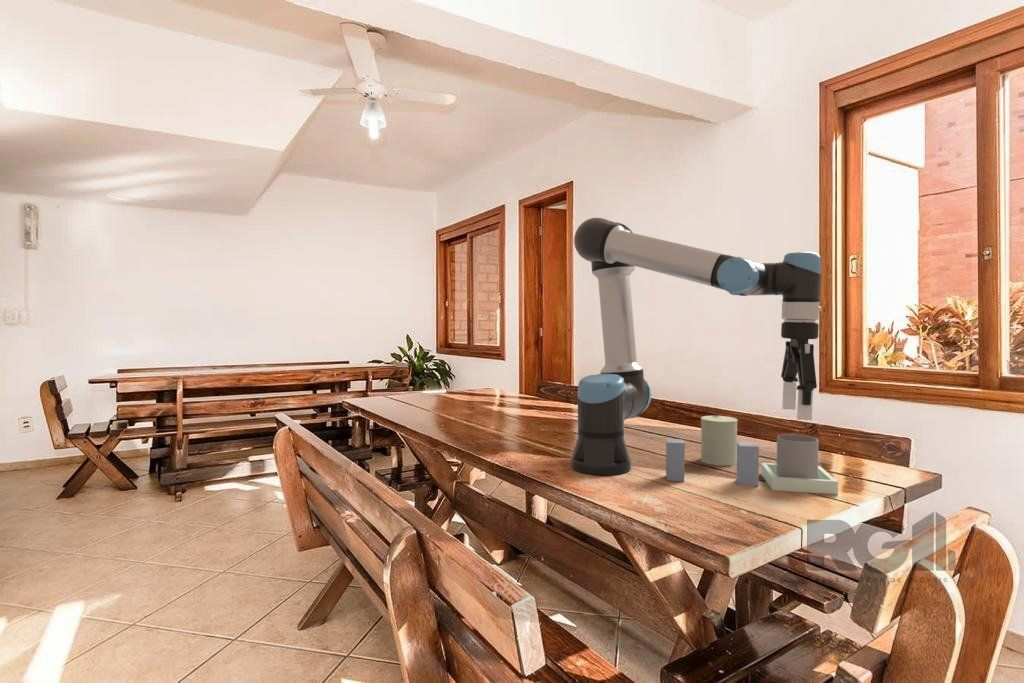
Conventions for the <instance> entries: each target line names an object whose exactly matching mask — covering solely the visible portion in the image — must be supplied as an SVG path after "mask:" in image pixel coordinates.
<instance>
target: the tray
mask: <svg viewBox="0 0 1024 683" xmlns="http://www.w3.org/2000/svg"><path fill="white" fill-rule="evenodd" d="M776 470H777V463H773V462H761V463H760V475H761V477H762V478H763V479H764V481H766V483H767V485H768V486H769V488H770V489H771V490H772V491H776V492H777V491H778V492H779V491H780V492H781V491H782V492H792V493H796V492H797V493H811V494H825V495H839V481H838V480H837V479H836V478H835V477H834V476H832V474H830V473H829V472H828V471H826V470H825V469H824V467H822V466H821V465H818V479H806V478H789V477H776Z"/></svg>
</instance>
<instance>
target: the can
mask: <svg viewBox="0 0 1024 683" xmlns="http://www.w3.org/2000/svg"><path fill="white" fill-rule="evenodd" d="M700 422H701V424H700V426H701V429H700V432H701V434H700V442H701V443H700V462H702V463H703V462H704V464H706V465H711V466H716V465H717V467H731V466H735V465H736V466H737V442H738V419H737V418H736V417H732V416H727V415H726V416H724V415H704V416H701V417H700Z"/></svg>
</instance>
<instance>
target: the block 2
mask: <svg viewBox="0 0 1024 683" xmlns="http://www.w3.org/2000/svg"><path fill="white" fill-rule="evenodd" d="M759 449H760V447H759V445H758V444H757V443H756V442H747V441H746V442H744V441H743V442H742V441H741V442H740V441H737V464H736V481H737V483H738V486H750V487H751V486H752V487H759V462H760V461H759V457H760V456H759V455H760V454H759V453H760V452H759V451H760V450H759Z"/></svg>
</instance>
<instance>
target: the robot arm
mask: <svg viewBox="0 0 1024 683" xmlns="http://www.w3.org/2000/svg"><path fill="white" fill-rule="evenodd" d="M573 242H574V243H573V244H574V248H575V250H576V252H577V253H578V255H579V256H580V257H581V258H583V260H585V261H588V262H590V263H591V273H592V275H593V276H594V277H596V278H597V280H598V294H599V306H600V307H599V308H600V316H601V317H600V318H601V329H602V339H603V352H604V363H605V364H604V365H603V367H602V369H601V370H600V373H596V374H590V375H586V376H584V377H582V378H581V379H580V380H579V382H578V386H577V387H578V388H577V395H576V396H577V438H576V442H575V445H574V447H573V451H572V455H571V456H570V457H571V458H570V460H571V461H570V467H571V469H573V470H574V471H576V472H579V473H583V474H588V475H597V476H613V475H614V476H615V475H621V474H626V473H628V472H629V471H631V469H632V459H631V456H630V453H629V449H628V447H627V444H626V441H625V440H626V439H625V421H626V420H629V419H633V418H636V417H638V416H640V415H641V414H642V413H643V412H645V411H646V410H647V408H648V407H649V406H650V403H651V400H652V388H651V386H650V384H649V382H648V381H647V380H646V379H645V374H644V368H643V367H642V366H641V365H640V364H639V363H638V361H637V358H638V357H637V349H636V348H637V346H636V337H635V335H636V334H635V325H634V313H633V302H632V290H631V289H632V288H631V280H630V278H631V274H632V273H633V272H634V271H635V270H636V269H635V268H636V267H637V268H641V269H645V270H648V271H653V272H656V273H660V274H663V275H667V276H671V277H675V278H679V279H681V280H682V279H683V280H686V281H691V282H694V283H698V284H702V285H705V286H708V287H713V288H716V289H719V290H723V291H726V292H728V293H729V294H730V295H732V296H739V297H747V296H782V302H781V320H783V322H781V325H780V326H781V330H780V332H781V334H780V336H781V338H782V339H789V340H786V341H785V351H784V356H783V363H782V367H781V369H782V370H781V375H780V378H782V382H783V386H782V408H781V409H782V410H794V411H795V410H796V404H797V413H796V417H797V418H796V419H797V420H800V421H802V420H803V421H812V420H813V396H814V395H813V394H814V390H815V389H817V387H818V385H817V376H816V365H815V356H814V352H815V350H814V348H815V345H814V343H813V344H812V343H809V340H816V339H818V338H819V329H820V328H819V327H820V326H819V325H820V324H819V323H818V322H817V321H818V320H819V319H820V312H821V311H822V310H823V308H822V306H820V301H821V300H820V298H821V287H822V285H821V282H822V263H821V262H822V261H821V260H822V258H821V255H820V254H818V253H817V252H815V251H814V252H813V251H796V252H788V253H786V254H784V257H783V260H782V261H779V262H767V263H766V262H764V263H762V262H759V263H758V262H755V261H753V260H752V261H751V259H749V258H745V257H741V256H733V255H729V254H725V253H724V254H723V253H720V252H715V251H712V250H711V251H710V250H707V249H704V248H698V247H694V246H689V245H687V244H686V245H685V244H682V243H678V242H673V241H669V240H664V239H661V238H656V237H652V236H648V235H647V236H646V235H644V234H639V233H635V231H634V230H633V229H631V228H630V227H628V226H627V225H625V223H624V224H623V223H620V222H615V221H612V220H610V219H609V220H608V219H606V218H602V217H592V218H589V219H585V220H584V221H583V222H581V223H580V225H579V226H578V227H577V229H576V231H575V234H574V238H573ZM797 383H799V385H797ZM796 400H797V403H796Z"/></svg>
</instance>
